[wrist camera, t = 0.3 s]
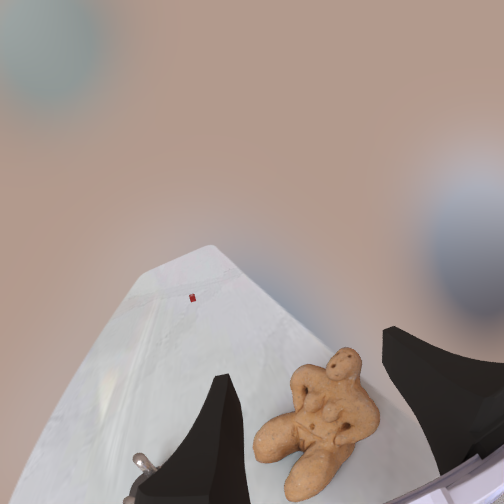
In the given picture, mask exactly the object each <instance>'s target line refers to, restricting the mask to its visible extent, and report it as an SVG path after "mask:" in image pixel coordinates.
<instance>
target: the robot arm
mask: <svg viewBox="0 0 504 504" xmlns="http://www.w3.org/2000/svg"><path fill="white" fill-rule="evenodd" d="M382 350H383V351H382V363H383V365H384V367H385V369H386V371H387V373H388V375H389V377H390V379H391V380H392V382H393V383H394V385H395V386H396V388H397V389H398V390H399V392H400V393H401V395H402V396H403V397H404V399H405V401H406V402H407V403H408V405H409V406H410V407H411V409H412V411H413V412H414V414H415V415H416V417H417V419H418V421H419V423H420V425H421V427H422V429H423V432H424V434H425V436H426V438H427V440H428V443H429V445H430V447H431V450H432V453H433V455H434V458H435V460H436V463H437V466H438V469H439V472H440V477H438V478H437V479H435V480H433V481H431V482H429V483H427V484H425V485H423V486H421V487H419V488H417V489H415V490H413V491H411V492H409V493H407V494H405V495H402V496H400V497H398V498H396V499H393V500H391V501H388V502H386V503H384V504H492V503H493V502H494V501H495V500H497V499H498V498H499V497H500V496H502V495H503V494H504V363H496V362H487V361H480V360H475V359H471V358H467V357H462V356H460V355H456V354H453V353H450V352H448V351H445V350H443V349H440V348H438V347H435V346H433V345H431V344H429V343H427V342H425V341H422V340H420V339H418V338H416V337H415V336H413V335H411V334H409V333H407V332H405V331H403V330H401V329H399V328H397V327H395V326H392V327H390V328H387V329H384V330H383V348H382ZM134 504H251V503H250V498H249V492H248V486H247V480H246V473H245V464H244V429H243V417H242V410H241V404H240V401H239V398H238V396H237V393H236V391H235V388H234V386H233V383H232V381H231V378H230V376H229V374H224V375H219V376H215V377H214V379H213V382H212V385H211V388H210V390H209V393H208V395H207V398H206V400H205V402H204V405H203V407H202V409H201V411H200V413H199V415H198V417H197V419H196V421H195V423H194V424H193V426H192V428H191V430H190V431H189V433H188V434H187V436H186V437H185V439H184V440H183V442H182V443H181V444H180V446H179V447H178V448H177V450H176V451H175V452H174V453H173V455H172V456H171V457H170V458H169V459H168V460H167V461H166V462H165V463H164V464H163V465H162V466H161V467H160V468H159V469H158V470H157V471H156V472H155V473H154V474H153V475H152V476H150V477H149V478H148V479H147V480H145V481H144V482H143V483H142V484H140V485H139V486H138V488H137V492H136V495H135V501H134Z"/></svg>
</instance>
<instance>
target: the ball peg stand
mask: <svg viewBox="0 0 504 504" xmlns="http://www.w3.org/2000/svg"><path fill="white" fill-rule="evenodd" d="M133 462H134V463H135V464H136V465H137V466H138V467H139V468H140V469H141V470H142V471H143V474H142V475H140V476H139V477H138V478H137V479H136V480H135V482H134V483H133V485H132V487H131V490H130V494H129V496H127V497H125V498H124V500H123V504H134V501H135V495H136V492H137V488H138V486H139V485H140V484H142V483H143V482H144V481H145V480H147V479H148V478H149V477H150V476H152V475H153V474H154V473H155V472H156V471H157V470H158V469H159V468H160V467H161V466H160V467H156V468H155V467H154V465H153V464H152V463H151V462H150V461H149V460H148V458H147V457H146V456H145V455H144V454H143V453H137V454H135V455H134V456H133Z"/></svg>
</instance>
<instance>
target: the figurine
mask: <svg viewBox="0 0 504 504" xmlns="http://www.w3.org/2000/svg"><path fill="white" fill-rule="evenodd" d="M361 367H362V360H361V358H360V356H359V354H358V353H357V352H356V351H355V350H354V349H351V348H348V347H344V348H341V349H340V350H339V351H337V353H336V354H335V355H334V356H333V357H332V358H331V359H330V361H329V363H328V364H327V367H326V369H325V368H322V367H319V366H315V365H311V364H306V365H303V366H301V367H299V368H298V369H297V370H296V371H295V372H294V373H293V375H292V377H291V380H290V387H291V390H292V394H293V403H294V408H295V410H296V411H294V412H291V413H286V414H282V415H279V416H277V417H275V418H273V419H271V420H270V421H268V422H267V423H265V424H264V425H263V426H262V427H261V429H260V430H259V431H258V432H257V433H256V435H255V437H254V442H253V450H254V453H255V458H256V460H257V461H258V462H260V463H273V462H277V461H279V460H281V459H282V458H284V457H286V456H287V455H289V454H291V453H294V452H296V451H302V452H305V453H304V454H303V455H302V456H301V457H300V458H299V460H298V461H297V462H296V463H295V464H294V466H293V468H292V469H291V471H290V474H289V476H288V477H287V479H286V481H285V485H284V490H285V496H286V498H287V500H289V501H291V502H299V501H303V500H306V499H309V498H311V497H313V496H315V495H317V494H318V493H319V492H320V491H322V490H323V489H324V488H325V487H326V486H327V485H328V484H329V482H330V481H331V480H332V478H333V477H334V475H335V474H336V472H337V470H338V469H339V468H340V466H341V465H342V463H343V462H344V461H345V460H346V459H347V458H348V457H349V456H350V455H351V453H352V452H353V450H354V447H355V443H356V442H358V441H360V440H362V439H364V438H366V437H368V436H370V435H371V434H373V433H374V432H375V431H376V430H377V428H378V426H379V422H380V412H379V409H378V408H377V406H376V405H375V403H374V401H373V400H372V399H371V398H369V396H368V394H367V392H366V391H365V389H364V388H362V386H361V385H360V372H361Z"/></svg>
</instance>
